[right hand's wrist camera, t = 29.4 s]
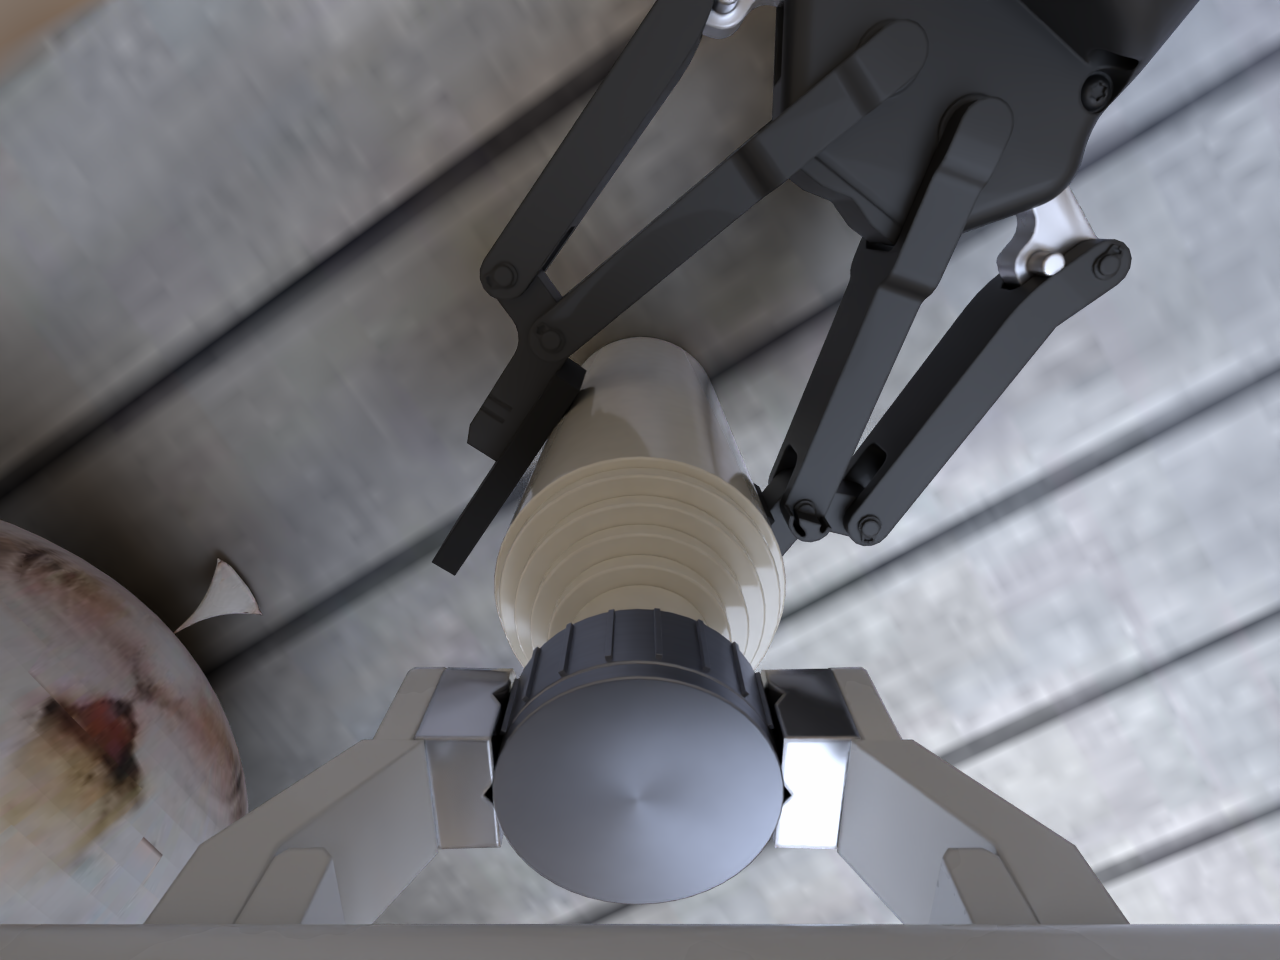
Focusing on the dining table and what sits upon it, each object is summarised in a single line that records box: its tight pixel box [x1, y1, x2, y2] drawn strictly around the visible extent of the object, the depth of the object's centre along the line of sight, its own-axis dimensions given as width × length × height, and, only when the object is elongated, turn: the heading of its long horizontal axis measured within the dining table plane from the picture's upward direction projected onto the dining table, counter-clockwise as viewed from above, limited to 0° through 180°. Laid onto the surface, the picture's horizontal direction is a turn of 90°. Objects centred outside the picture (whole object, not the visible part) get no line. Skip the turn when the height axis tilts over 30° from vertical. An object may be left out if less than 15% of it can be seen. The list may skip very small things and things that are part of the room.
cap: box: [492, 608, 784, 904], centre depth 10 cm, size 4×4×2 cm
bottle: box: [494, 337, 786, 670], centre depth 18 cm, size 6×6×18 cm
